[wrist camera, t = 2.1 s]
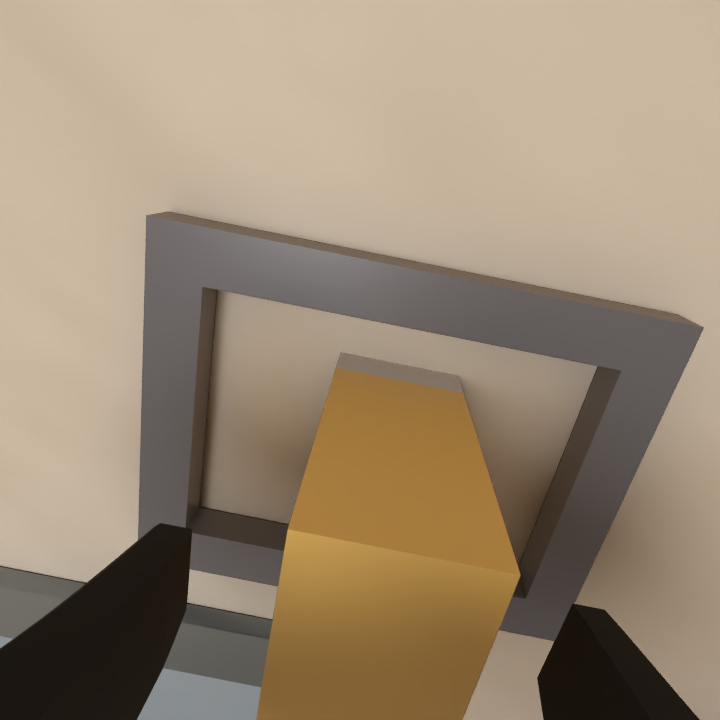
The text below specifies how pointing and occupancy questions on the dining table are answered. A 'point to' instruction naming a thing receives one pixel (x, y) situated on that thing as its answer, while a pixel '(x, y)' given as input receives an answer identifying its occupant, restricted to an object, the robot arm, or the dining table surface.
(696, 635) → the dining table surface
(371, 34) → the dining table surface
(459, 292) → the holder frame
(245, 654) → the parts tray
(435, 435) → the block
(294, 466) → the dining table surface
